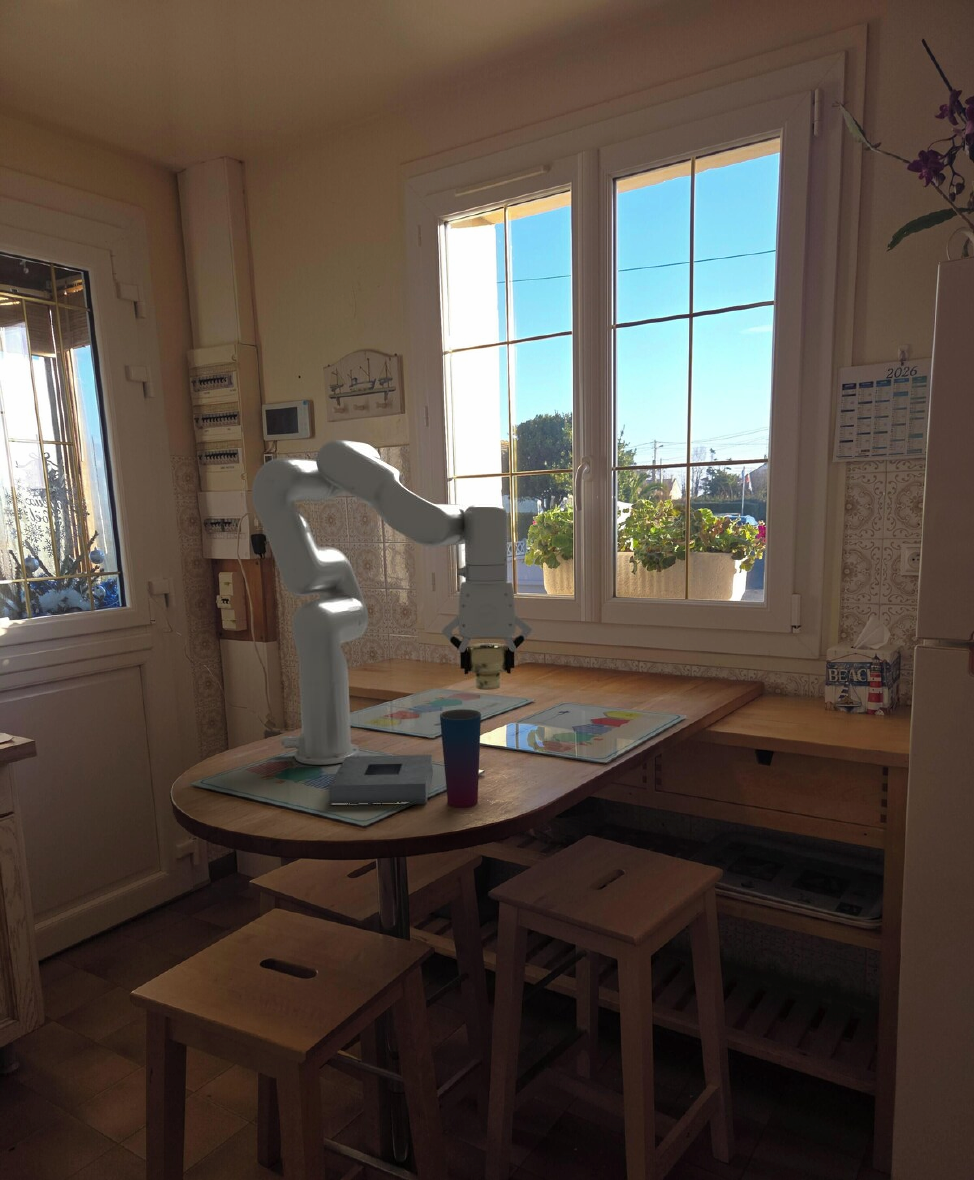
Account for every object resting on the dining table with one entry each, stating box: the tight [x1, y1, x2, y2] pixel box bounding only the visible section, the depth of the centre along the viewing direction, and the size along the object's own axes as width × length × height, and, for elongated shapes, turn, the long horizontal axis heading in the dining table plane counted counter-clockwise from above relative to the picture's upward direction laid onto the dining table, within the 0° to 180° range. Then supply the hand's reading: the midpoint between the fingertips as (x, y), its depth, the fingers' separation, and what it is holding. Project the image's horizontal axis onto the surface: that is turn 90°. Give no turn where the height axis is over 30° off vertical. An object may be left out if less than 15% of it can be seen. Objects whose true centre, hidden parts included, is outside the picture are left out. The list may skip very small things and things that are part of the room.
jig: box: [328, 754, 434, 805], centre depth 143 cm, size 16×16×4 cm
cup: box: [439, 708, 482, 809], centre depth 134 cm, size 7×7×15 cm
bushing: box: [467, 642, 507, 691], centre depth 146 cm, size 7×7×8 cm
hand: (487, 671), depth 146 cm, fingers closed on bushing, 7 cm apart
